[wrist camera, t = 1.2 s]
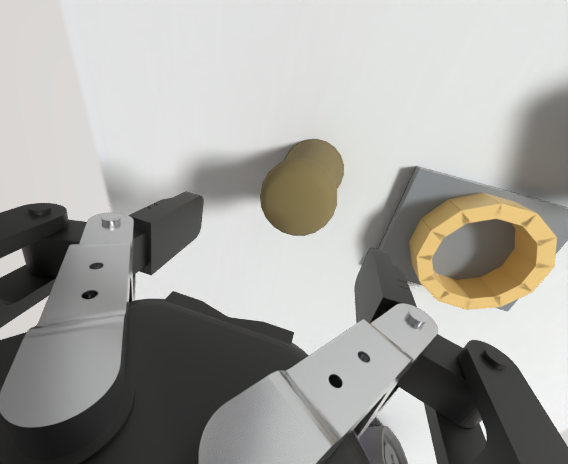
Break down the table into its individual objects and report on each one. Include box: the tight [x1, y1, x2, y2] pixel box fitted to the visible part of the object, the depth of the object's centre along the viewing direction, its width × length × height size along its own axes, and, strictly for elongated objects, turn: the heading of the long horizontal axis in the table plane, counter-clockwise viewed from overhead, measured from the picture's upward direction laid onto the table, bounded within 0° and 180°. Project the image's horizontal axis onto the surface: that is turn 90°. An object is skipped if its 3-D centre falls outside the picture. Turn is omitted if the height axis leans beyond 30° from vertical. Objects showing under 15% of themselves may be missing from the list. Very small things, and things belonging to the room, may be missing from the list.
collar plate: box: [378, 166, 568, 311], centre depth 24 cm, size 11×14×4 cm
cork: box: [260, 139, 344, 236], centre depth 21 cm, size 6×6×11 cm
